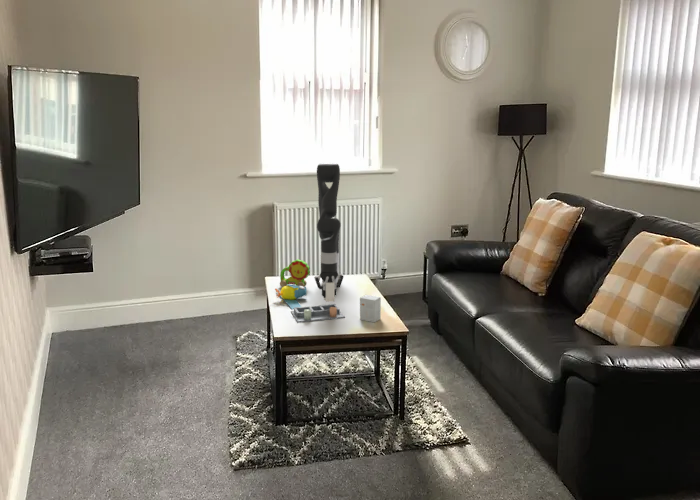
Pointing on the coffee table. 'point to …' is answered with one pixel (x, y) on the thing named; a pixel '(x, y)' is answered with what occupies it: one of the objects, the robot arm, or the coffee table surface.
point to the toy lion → (295, 273)
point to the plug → (329, 292)
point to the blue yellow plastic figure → (292, 294)
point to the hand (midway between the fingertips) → (329, 296)
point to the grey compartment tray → (317, 313)
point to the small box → (370, 308)
